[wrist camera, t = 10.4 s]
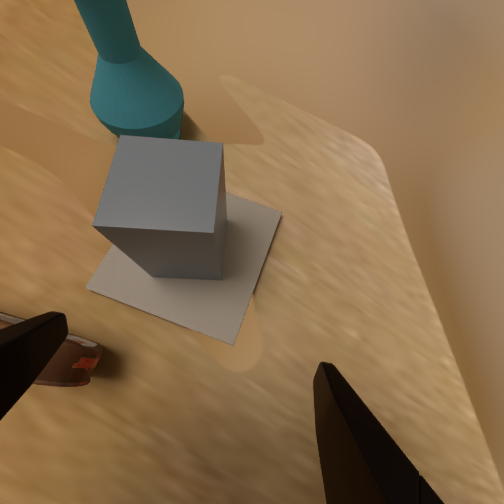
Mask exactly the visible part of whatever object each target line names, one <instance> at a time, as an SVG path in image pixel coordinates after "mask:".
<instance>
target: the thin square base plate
mask: <svg viewBox="0 0 504 504" xmlns="http://www.w3.org/2000/svg"><path fill="white" fill-rule="evenodd" d="M226 206H227V229H226V241H225V253H224V265H223V277H222V280H202V279H182V278H163V277H151V276H150V275H149V274H148V273H147V272H145V271H144V270H143V269H142V268H141V267H140V266H139V265H137V264H136V263H135V262H134V261H133V260H132V259H130V258H129V257H128V256H127V255H126V254H125V253H123V252H122V251H121V250H120V249H119V248H118V247H116V246H115V245H114V244H113V245H112V247H111V248H110V250H109V251H108V253H107V254H106V256H105V258H104V259H103V261H102V262H101V264H100V265H99V267H98V268H97V270H96V272H95V273H94V275H93V276H92V278H91V279H90V281H89V282H88V284H87V286H86V287H85V288H86V289H89V290H91V291H94V292H97V293H99V294H102V295H104V296H107V297H109V298H112V299H115V300H117V301H120V302H122V303H125V304H127V305H130V306H132V307H135V308H138V309H140V310H143V311H145V312H148V313H150V314H153V315H156V316H158V317H161V318H163V319H166V320H168V321H171V322H174V323H176V324H179V325H181V326H184V327H186V328H189V329H191V330H194V331H197V332H199V333H202V334H204V335H207V336H210V337H212V338H215V339H217V340H220V341H222V342H225V343H227V344H230V345H234V343H235V340H236V337H237V334H238V332H239V329H240V327H241V324H242V321H243V318H244V315H245V313H246V310H247V307H248V304H249V302H250V299H251V296H252V294H253V291H254V288H255V285H256V283H257V280H258V277H259V274H260V271H261V269H262V266H263V263H264V260H265V258H266V255H267V252H268V249H269V247H270V244H271V241H272V238H273V236H274V233H275V230H276V227H277V225H278V222H279V219H280V216H281V214H282V212H281V211H278V210H275V209H273V208H270V207H267V206H264V205H261V204H258V203H255V202H252V201H249V200H247V199H244V198H241V197H238V196H235V195H232V194H229V193H226Z"/></svg>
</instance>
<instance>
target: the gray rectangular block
mask: <svg viewBox="0 0 504 504" xmlns="http://www.w3.org/2000/svg"><path fill="white" fill-rule="evenodd" d="M92 226H93V227H94V228H96V229H97V230H98V231H99V232H100V233H101V234H102V235H104V236H105V237H106V238H107V239H108V240H109V241H111V242H112V243H113V244H114V245H115V246H116V247H118V248H119V249H120V250H121V251H122V252H123V253H125V254H126V255H127V256H128V257H129V258H130V259H132V260H133V261H134V262H135V263H136V264H137V265H139V266H140V267H141V268H142V269H143V270H144V271H145V272H147V273H148V274H149V275H150V276H151V277H163V278H182V279H202V280H222V277H223V265H224V253H225V241H226V229H227V206H226V189H225V171H224V154H223V143H216V142H204V141H191V140H178V139H165V138H153V137H140V136H127V135H120V138H119V141H118V145H117V148H116V151H115V154H114V157H113V161H112V164H111V167H110V170H109V173H108V177H107V180H106V183H105V187H104V189H103V193H102V196H101V199H100V202H99V206H98V209H97V212H96V215H95V218H94V221H93V225H92Z"/></svg>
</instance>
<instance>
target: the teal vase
mask: <svg viewBox="0 0 504 504" xmlns="http://www.w3.org/2000/svg"><path fill="white" fill-rule="evenodd" d="M74 1H75V3H76V6H77V8H78V10H79V12H80V14H81V16H82V19H83V21H84V23H85V25H86V27H87V29H88V32H89V34H90V36H91V38H92V40H93V42H94V45H95V47H96V49H97V51H98V59H97V64H96V70H95V75H94V79H93V83H92V89H91V95H90V104H91V108H92V110H93V112H94V113H95V115H96V116H97V118H98V119H99V120H100V122H101V123H102V124H103V125H104V126H105V127H107V128H108V129H109V130H110V131H111V132H112V133H114V134H115V135H117V137H118V138H120V135H127V136H140V137H153V138H165V139H179V137H180V126H181V118H182V115H183V108H184V98H183V91H182V88H181V86H180V84H179V82H178V81H177V80H176V79H175V78H174V77H173V76H172V75H171V74H170V73H169V72H168V71H167V70H166V69H165V68H164V67H162V66H161V65H160V64H159V63H158V62H157V61H156V60H155V59H154V58H153V57H152V56H151V55H149V54H148V53H147V52H146V51H145V50H144V49H143V48H142V47H141V46H140V43H139V40H138V37H137V34H136V31H135V27H134V24H133V21H132V18H131V15H130V12H129V8H128V5H127V2H126V0H74Z"/></svg>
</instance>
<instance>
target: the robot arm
mask: <svg viewBox="0 0 504 504" xmlns="http://www.w3.org/2000/svg"><path fill="white" fill-rule="evenodd" d="M67 336H68V325H67V319H66V315H65V314H64V313H60V312H54V311H51V312H48V313H45V314H42V315H39V316H36V317H33V318H30V319H28V320H25V321H22V322H19V323H16V324H13V325H11V326H8V327H5V328H2V329H0V420H1V419H2V418H3V417H4V416H5V415H6V413H7V412H8V411H9V410H10V409H11V408H12V407H13V405H14V404H15V403H16V402H17V401H18V400H19V399H20V397H21V396H22V395H23V394H24V393H25V392H26V391H27V389H28V388H29V387H30V386H31V385H32V384H33V382H34V381H35V380H36V379H37V377H38V376H39V375H40V373H41V372H42V371H43V369H44V368H45V367H46V365H47V364H48V363H49V361H50V360H51V359H52V357H53V356H54V354H55V353H56V352H57V350H58V349H59V348H60V346H61V345H62V344H63V342H64V341H65V339H66V338H67ZM313 391H314V409H315V427H316V437H317V444H318V451H319V457H320V464H321V470H322V477H323V483H324V490H325V496H326V503H327V504H444V503H443V501H442V500H441V499H440V498H439V497H438V495H437V494H436V493H435V492H434V490H433V489H432V488H431V487H430V485H429V484H428V483H427V482H426V480H425V479H424V478H423V477H422V476H421V475H420V476H419V472H418V470H417V469H416V468H415V467H414V465H413V464H412V463H411V462H410V460H409V459H408V458H407V456H406V455H405V454H404V453H403V451H402V450H401V449H400V448H399V446H398V445H397V444H396V443H395V441H394V440H393V439H392V438H391V436H390V435H389V434H388V433H387V431H386V430H385V429H384V427H383V426H382V425H381V424H380V422H379V421H378V420H377V419H376V417H375V416H374V415H373V414H372V412H371V411H370V410H369V409H368V407H367V406H366V405H365V404H364V402H363V401H362V400H361V399H360V397H359V396H358V395H357V393H356V392H355V391H354V390H353V388H352V387H351V386H350V385H349V383H348V382H347V381H346V380H345V378H344V377H343V376H342V375H341V373H340V372H339V371H338V370H337V368H336V367H335V366H334V365H333V364H332V363H327V362H320V364H319V366H318V369H317V371H316V374H315V376H314V380H313Z"/></svg>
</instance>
